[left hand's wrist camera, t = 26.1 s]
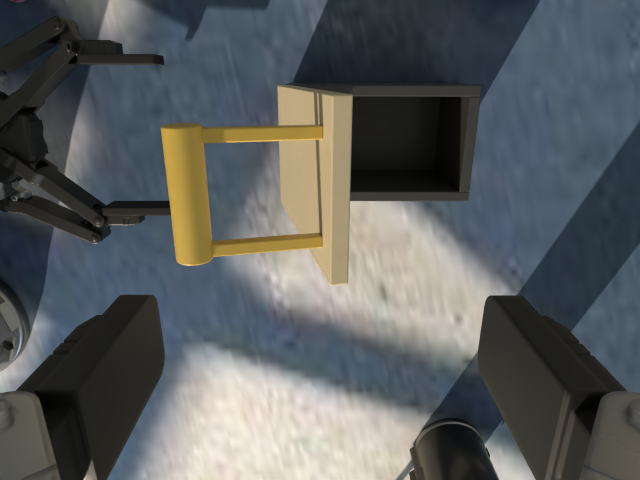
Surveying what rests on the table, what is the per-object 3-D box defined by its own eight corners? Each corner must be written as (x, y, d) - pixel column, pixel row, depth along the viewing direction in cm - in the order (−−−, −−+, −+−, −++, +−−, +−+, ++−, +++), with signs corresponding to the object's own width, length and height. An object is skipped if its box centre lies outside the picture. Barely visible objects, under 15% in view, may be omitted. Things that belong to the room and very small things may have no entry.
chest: (448, 82, 47) (482, 85, 37) (439, 176, 50) (468, 201, 41) (291, 82, 47) (284, 84, 37) (293, 175, 50) (286, 201, 41)
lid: (353, 94, 21) (152, 96, 19) (348, 284, 25) (177, 302, 23) (289, 84, 37) (175, 85, 35) (292, 202, 40) (187, 208, 38)
